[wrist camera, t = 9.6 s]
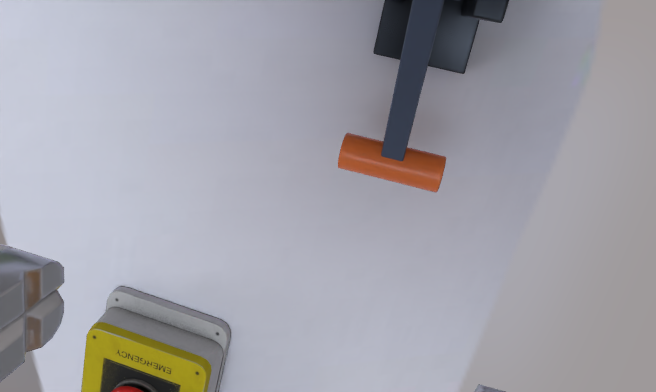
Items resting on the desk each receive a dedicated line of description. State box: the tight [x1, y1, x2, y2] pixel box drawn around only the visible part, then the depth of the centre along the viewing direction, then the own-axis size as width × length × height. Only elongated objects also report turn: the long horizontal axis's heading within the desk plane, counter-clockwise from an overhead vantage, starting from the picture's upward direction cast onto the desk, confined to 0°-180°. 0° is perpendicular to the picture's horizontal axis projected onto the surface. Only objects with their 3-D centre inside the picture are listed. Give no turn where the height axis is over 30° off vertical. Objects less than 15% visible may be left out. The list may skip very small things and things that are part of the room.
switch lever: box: [338, 0, 460, 192], centre depth 22 cm, size 13×5×2 cm, turn 168°
